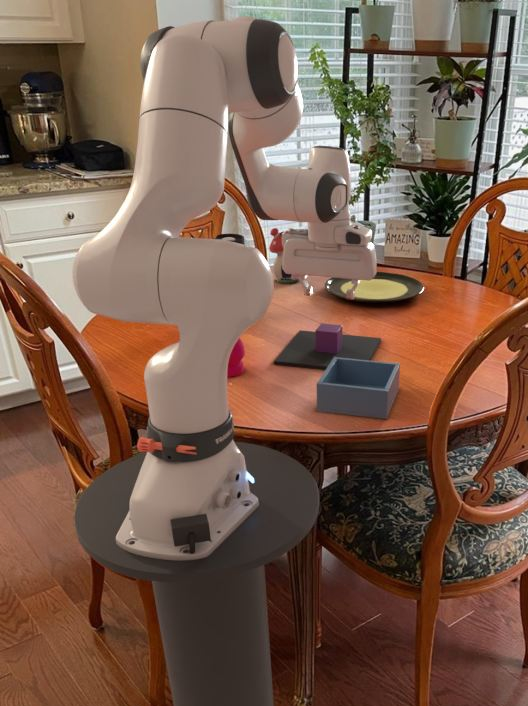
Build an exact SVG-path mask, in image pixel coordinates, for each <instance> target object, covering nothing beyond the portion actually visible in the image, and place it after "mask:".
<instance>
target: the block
mask: <svg viewBox="0 0 528 706" xmlns="http://www.w3.org/2000/svg"><path fill="white" fill-rule="evenodd" d="M314 332H315V334H316V352H323V353H333V354H337V353H338V352H339V350H340V349H341V347H342V334H343V325H342V324H334V323H333V324H332V323H320V324H319V325H318V327H317V328H316V329H315V331H314Z"/></svg>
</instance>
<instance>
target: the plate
mask: <svg viewBox="0 0 528 706" xmlns="http://www.w3.org/2000/svg"><path fill="white" fill-rule="evenodd" d="M353 285H354V284H352V283H351V279H345V278H333V277H329V278H328V279H326V281H325V282H324V288H325V290H326V291H327V292H328V293H330V294H331V295H333V296H336V297H338V298H341V299H344V300H348V301H352V302H358V303H368V304H370V303H371V304H387V303H396V302H402V301H406V300H409V299H413V298H415V297H418V296H419V295H421V294H422V293H423V292H424V290H425V285H424V284H423V283H422V282H421V281H420V280H419V279H416V278H414V277H412V276H408V275H405V274H401V273H394V272H385V271H377V272H376V275H375V276H374V278H373V279H371V280H360V283H359V284H358V286H357V287H356V289H355V296H354V299H353V300H352V299H346V296H347V295H346V291H347V290H348V289H352V287H353Z"/></svg>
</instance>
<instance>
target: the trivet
mask: <svg viewBox="0 0 528 706" xmlns="http://www.w3.org/2000/svg"><path fill="white" fill-rule="evenodd" d="M381 341H382V338H381V337H373V336H365V335H364V336H363V335H353V334H344V333H342V347H341V349H340V350H339V352H338V353H337V354H333V353H323V352H316V334H315V331H311V330H298V332H297V333H296V334H295V335H294V336H293V338H291V340H290V341H289V342H288V344H287V345H286V346H285V347H284V348H283V349H282V351H281V352H280V353H279V354H278V355H277V357H275V359H274V360H273V365H275V366H276V365H277V366H286V367H295V368H296V367H297V368H305V369H316V370H324V371H325V370H326V369H327V367H328V366H329V364H330V363H331V361H332V360H333V358H334V357H340V358H349V359H359V360H369V361H372V358H373V356H374V354H375V352H376V351H377V349H378V347H379V345H380V344H381Z"/></svg>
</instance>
